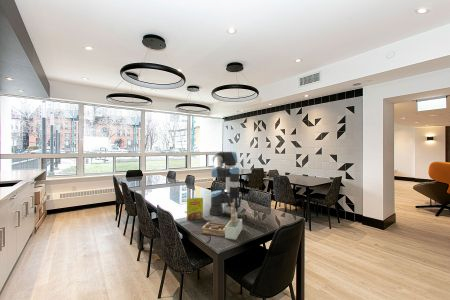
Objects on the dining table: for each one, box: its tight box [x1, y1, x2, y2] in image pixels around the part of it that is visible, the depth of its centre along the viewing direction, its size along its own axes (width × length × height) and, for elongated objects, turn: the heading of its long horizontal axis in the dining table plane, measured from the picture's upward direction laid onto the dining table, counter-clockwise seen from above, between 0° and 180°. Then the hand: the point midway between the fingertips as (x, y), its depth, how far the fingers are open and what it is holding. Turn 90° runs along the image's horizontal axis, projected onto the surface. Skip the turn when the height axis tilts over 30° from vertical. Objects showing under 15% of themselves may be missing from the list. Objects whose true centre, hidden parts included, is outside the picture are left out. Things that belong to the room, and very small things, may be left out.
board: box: [230, 200, 238, 226], centre depth 171 cm, size 2×12×18 cm, turn 162°
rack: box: [200, 221, 228, 237], centre depth 177 cm, size 16×19×4 cm
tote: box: [224, 218, 243, 240], centre depth 171 cm, size 21×9×9 cm, turn 162°
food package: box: [186, 197, 204, 220], centre depth 206 cm, size 15×1×20 cm, turn 106°
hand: (234, 215), depth 171 cm, fingers closed on board, 2 cm apart
